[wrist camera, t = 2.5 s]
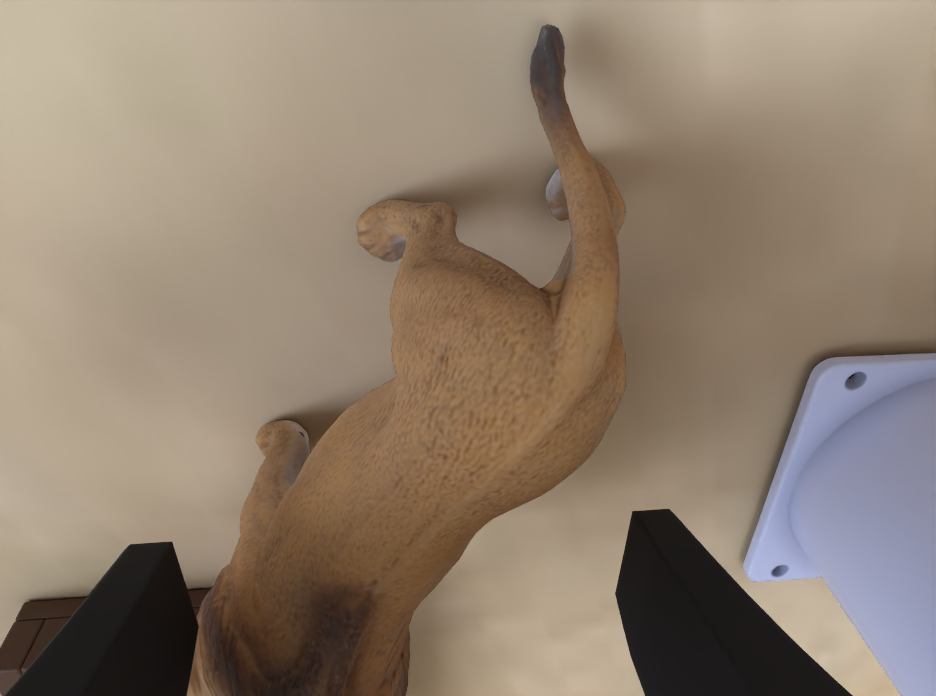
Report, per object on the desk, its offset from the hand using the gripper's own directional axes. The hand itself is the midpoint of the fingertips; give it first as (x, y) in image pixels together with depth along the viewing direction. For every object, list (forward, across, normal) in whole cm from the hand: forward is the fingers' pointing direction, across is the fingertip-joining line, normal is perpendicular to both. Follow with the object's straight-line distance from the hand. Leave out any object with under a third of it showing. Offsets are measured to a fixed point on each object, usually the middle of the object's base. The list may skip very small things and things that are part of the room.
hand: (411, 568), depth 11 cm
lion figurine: (+6, 0, 0) cm, 6 cm away
